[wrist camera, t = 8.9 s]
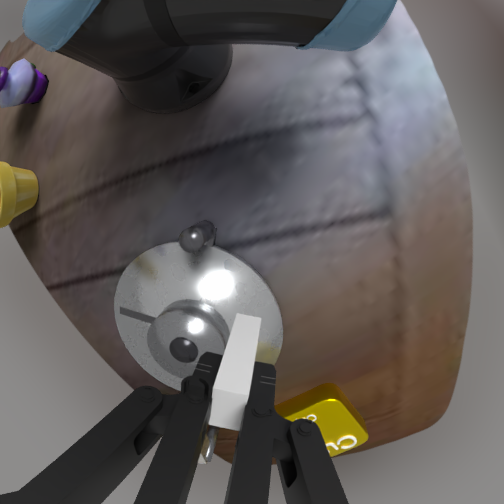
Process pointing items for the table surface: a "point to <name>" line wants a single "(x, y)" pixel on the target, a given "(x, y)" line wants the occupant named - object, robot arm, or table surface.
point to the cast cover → (186, 336)
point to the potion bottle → (21, 84)
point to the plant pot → (16, 192)
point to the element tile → (328, 416)
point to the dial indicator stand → (209, 444)
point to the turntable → (193, 294)
